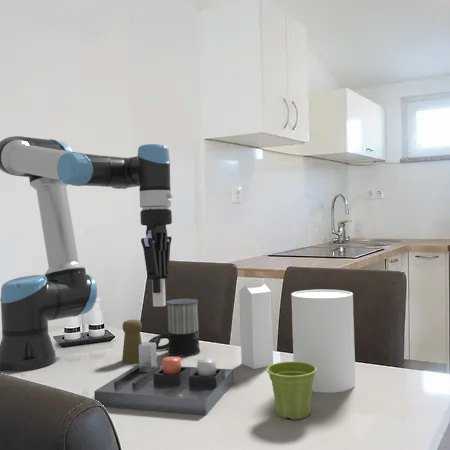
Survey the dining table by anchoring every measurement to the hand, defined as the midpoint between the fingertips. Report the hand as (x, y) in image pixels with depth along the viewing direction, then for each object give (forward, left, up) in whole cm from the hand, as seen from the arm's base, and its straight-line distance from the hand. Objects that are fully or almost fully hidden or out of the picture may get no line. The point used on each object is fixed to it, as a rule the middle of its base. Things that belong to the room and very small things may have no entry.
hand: (159, 305), depth 122 cm
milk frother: (-6, +23, -17) cm, 29 cm away
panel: (+7, -12, -17) cm, 22 cm away
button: (+8, -12, -12) cm, 19 cm away
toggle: (0, -7, -14) cm, 16 cm away
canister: (+39, +2, -17) cm, 42 cm away
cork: (-13, +11, -17) cm, 24 cm away
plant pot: (+35, -18, -17) cm, 43 cm away
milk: (+21, +13, -17) cm, 30 cm away
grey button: (+16, -12, -12) cm, 23 cm away
